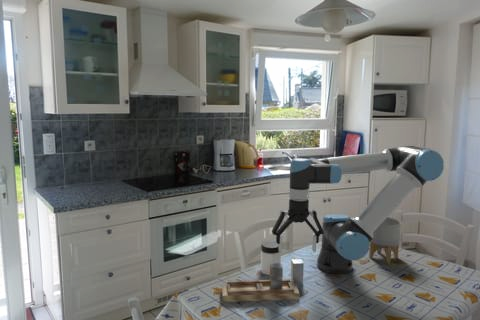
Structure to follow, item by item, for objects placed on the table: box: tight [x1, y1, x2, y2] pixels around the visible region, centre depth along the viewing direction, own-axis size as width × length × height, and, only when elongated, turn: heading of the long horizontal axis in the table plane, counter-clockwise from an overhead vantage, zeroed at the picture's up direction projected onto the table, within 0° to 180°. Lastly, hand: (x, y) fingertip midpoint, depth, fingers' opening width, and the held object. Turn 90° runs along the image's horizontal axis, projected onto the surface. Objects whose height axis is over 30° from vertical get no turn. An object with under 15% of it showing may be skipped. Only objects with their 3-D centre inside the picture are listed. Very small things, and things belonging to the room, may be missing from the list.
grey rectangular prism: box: [290, 258, 305, 286], centre depth 146 cm, size 4×4×9 cm
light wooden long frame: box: [221, 263, 301, 303], centre depth 136 cm, size 28×8×12 cm, turn 94°
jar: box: [260, 240, 282, 276], centre depth 156 cm, size 9×8×12 cm
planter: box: [368, 216, 402, 264], centre depth 170 cm, size 13×13×18 cm
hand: (297, 251), depth 145 cm, fingers open, 13 cm apart
